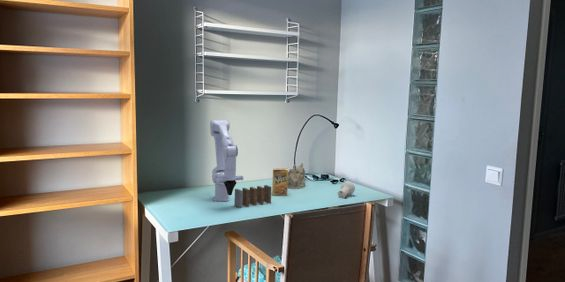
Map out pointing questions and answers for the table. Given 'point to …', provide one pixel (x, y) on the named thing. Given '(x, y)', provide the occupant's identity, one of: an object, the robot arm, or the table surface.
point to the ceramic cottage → (296, 177)
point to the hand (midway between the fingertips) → (229, 194)
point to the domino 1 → (238, 198)
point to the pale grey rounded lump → (346, 189)
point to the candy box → (280, 181)
